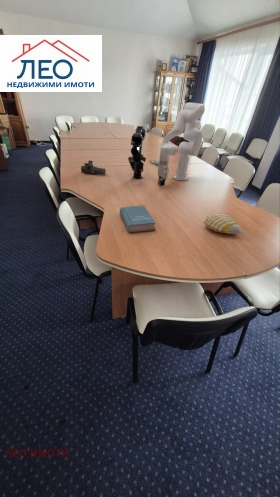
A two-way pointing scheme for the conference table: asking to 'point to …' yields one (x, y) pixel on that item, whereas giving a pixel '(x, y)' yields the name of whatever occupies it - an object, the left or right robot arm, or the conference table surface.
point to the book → (137, 219)
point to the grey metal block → (160, 181)
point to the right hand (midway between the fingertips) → (161, 184)
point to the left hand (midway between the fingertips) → (135, 172)
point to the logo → (155, 162)
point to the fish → (223, 224)
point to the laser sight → (92, 169)
